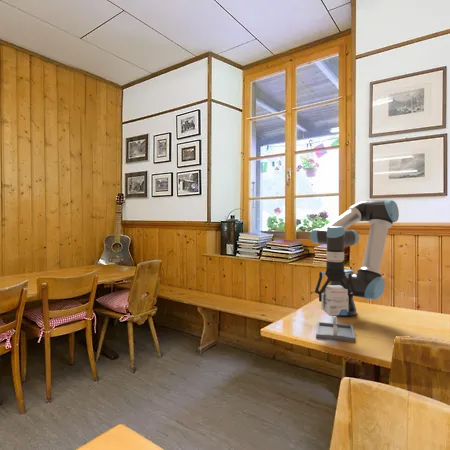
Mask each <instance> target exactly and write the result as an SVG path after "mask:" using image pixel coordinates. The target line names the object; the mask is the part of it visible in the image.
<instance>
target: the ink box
mask: <svg viewBox="0 0 450 450" xmlns="http://www.w3.org/2000/svg"><path fill="white" fill-rule="evenodd" d="M322 294H323V309H322V310H323V312H324V313H326V314H327V315H328V316H337V315H347V309H348V289H345V288H344V287H342V286H341V285H330V284H328V285H327V287H326V288H325V290H324V291H323V293H322Z"/></svg>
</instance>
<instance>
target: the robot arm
mask: <svg viewBox="0 0 450 450" xmlns="http://www.w3.org/2000/svg"><path fill="white" fill-rule="evenodd" d="M399 211H400V210H399V207H398V204H397V202H396V201H394V200H393V199H382V200H379V199H378V200H374V199H373V200H363V201H359V202H357V203H355V204H353V205H350V206H349V207H347V209H345V211H344V212H343V213H342V214H341V215H339V216H338V217H336V218H335V219H333V220H331V221H330V222H329V223H327V224H326V225H324V226H323V227H321V228H319V227H318V228H313V229H312V230H311V232H310V235H309V236H310V241H311V242H312V243H313V244H318V245H326V260H327V261H326V271H319V272H318V273H319V274H318V275H319V276H318V280H317V283H316V287H315V290H314V293H315V294H318V301H319V302H321V310H323V291H324V290H325V288H326V287H327V285H341V286H342V287H344V288H345V289H348V309H347V315H336V317H353V316H356V315H357V306H356V303H355V301H354V297H359V298H363V299H365V300H373V301H375V300H378V299H379V298H381V297H382V295H383V293H384V291H385V288H386V287H385V283H386V282H385V279H384V278H383V274H382V273H381V272H380V271H381V270H380V269H381V265H382V260H383V255H384V250H385V246H386V242H387V236H388V232H389V229H390V228H392V227H393V224H394V223H396V222H398V220H399V215H400V214H399V213H400V212H399ZM361 222H368V224H369V225H370V227H369V232H368V236H367V240H366V241H367V242H366V245H365V251H364V255H363V260H362V263H361V266H360V268H358V269H357V272H356V273H354V270H353V269H349V268H347V269H346V268H345V247H352V246H355V245H356V244H358V243H359V239H360V235H359V234H358V232H357V231H356V230H354V229H349V228H350V227H351V226H353V225H354V224H355V225H356V224H358V223H361ZM324 276H326V277H327V279H326V281H325V282H324V283H323V285H322V287H321V288H320V286H321V283H322V280H323V277H324Z"/></svg>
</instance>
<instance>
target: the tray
mask: <svg viewBox="0 0 450 450" xmlns="http://www.w3.org/2000/svg"><path fill="white" fill-rule="evenodd" d="M337 317H338V316H337V315H332V322H327V321H326V322H324V321H323V322H322V321H317V322H316V333H315V337H316V339H320V340H321V339H323V340H330V341H331V340H332V341H333V340H334V341H341V342H350V343H351V342H352V343H356V334H355V330H354V325H353V324H349V323H348V324H347V323H338V322H337V319H338V318H337Z"/></svg>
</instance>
